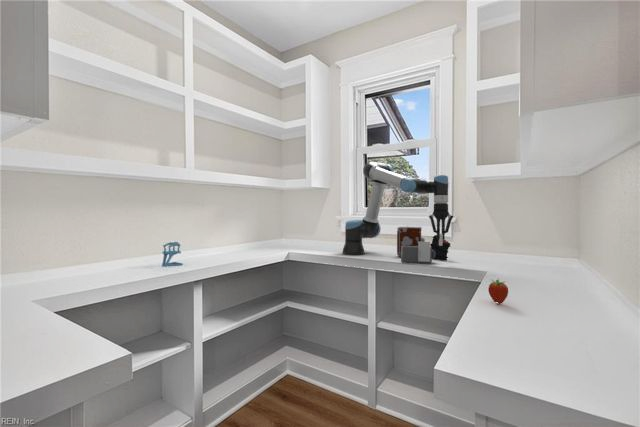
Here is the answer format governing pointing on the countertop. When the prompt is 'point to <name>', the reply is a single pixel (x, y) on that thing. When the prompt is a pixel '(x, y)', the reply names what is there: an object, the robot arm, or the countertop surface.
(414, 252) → the block
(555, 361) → the countertop surface
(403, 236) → the brown box
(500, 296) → the fruit
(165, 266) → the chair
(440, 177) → the robot arm
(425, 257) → the side door
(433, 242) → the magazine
